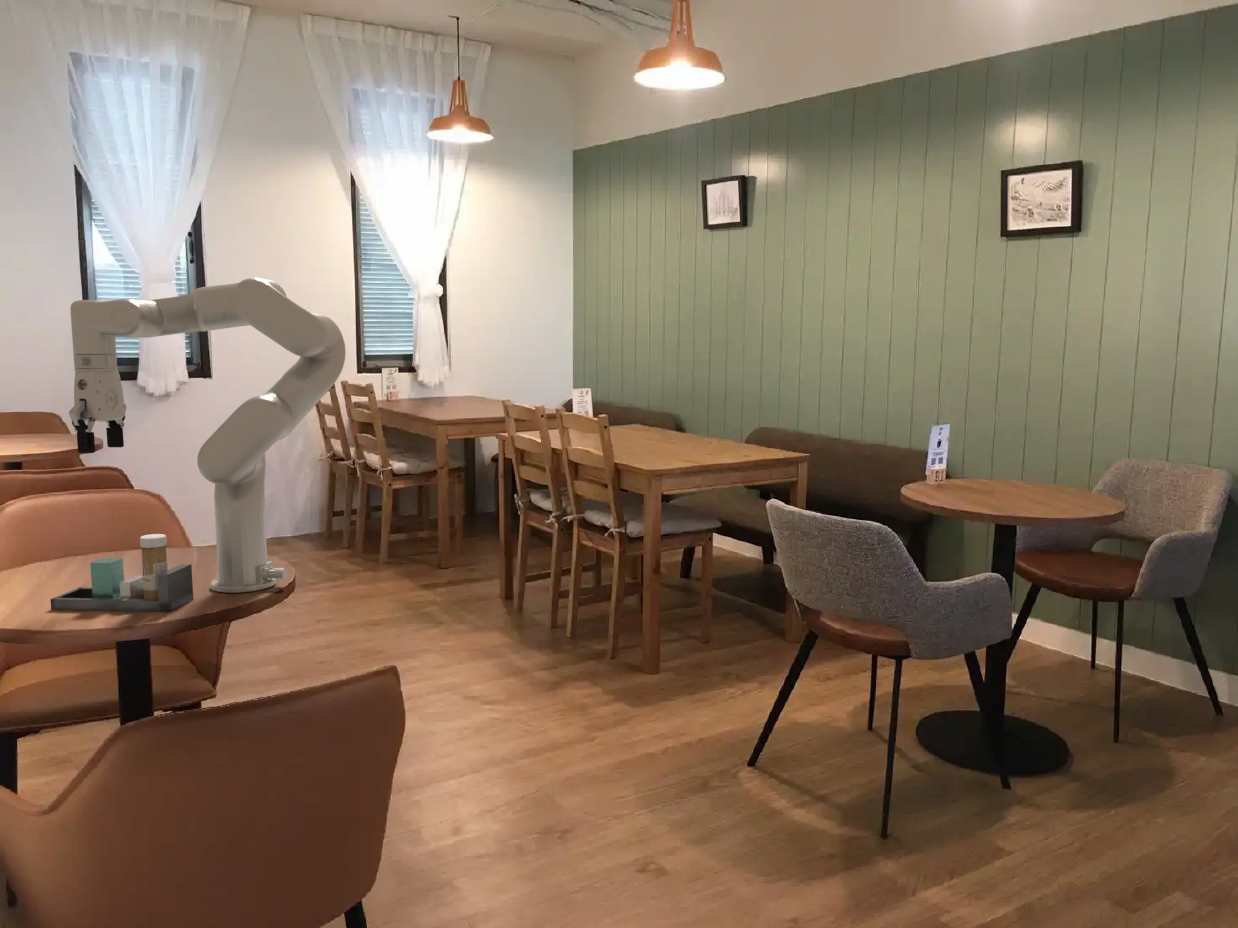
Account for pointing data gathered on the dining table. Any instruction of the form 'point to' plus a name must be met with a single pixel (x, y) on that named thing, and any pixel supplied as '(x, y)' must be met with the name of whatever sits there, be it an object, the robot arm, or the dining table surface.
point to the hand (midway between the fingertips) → (101, 449)
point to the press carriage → (114, 581)
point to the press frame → (172, 595)
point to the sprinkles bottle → (153, 563)
